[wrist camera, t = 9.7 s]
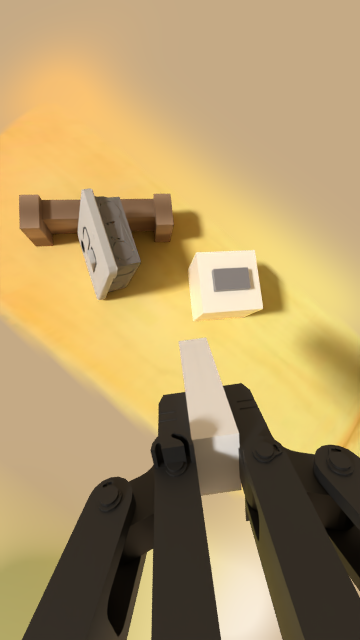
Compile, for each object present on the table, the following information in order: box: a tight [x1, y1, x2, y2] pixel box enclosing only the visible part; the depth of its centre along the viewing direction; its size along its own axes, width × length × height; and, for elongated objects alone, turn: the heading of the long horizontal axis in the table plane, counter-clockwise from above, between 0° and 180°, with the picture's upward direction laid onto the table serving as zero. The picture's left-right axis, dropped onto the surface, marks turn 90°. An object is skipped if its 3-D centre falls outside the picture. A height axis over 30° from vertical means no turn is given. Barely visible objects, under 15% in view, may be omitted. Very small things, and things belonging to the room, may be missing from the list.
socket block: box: [188, 250, 263, 321], centre depth 32 cm, size 7×7×7 cm
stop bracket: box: [19, 194, 174, 246], centre depth 32 cm, size 4×17×4 cm, turn 96°
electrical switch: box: [78, 189, 141, 300], centre depth 30 cm, size 9×5×9 cm, turn 19°
